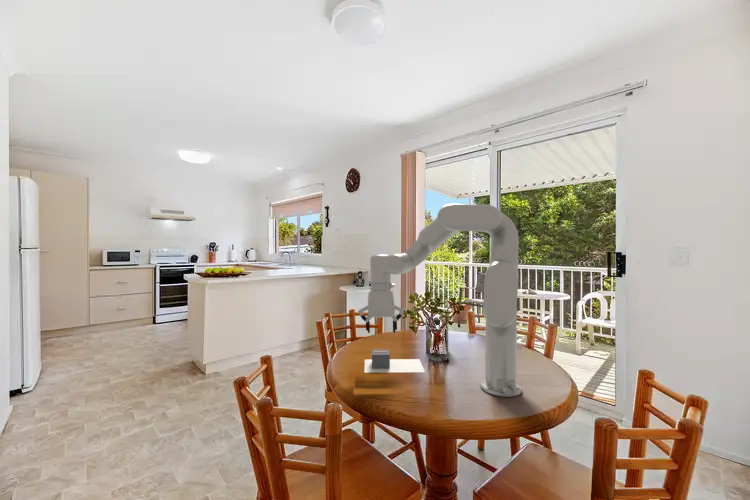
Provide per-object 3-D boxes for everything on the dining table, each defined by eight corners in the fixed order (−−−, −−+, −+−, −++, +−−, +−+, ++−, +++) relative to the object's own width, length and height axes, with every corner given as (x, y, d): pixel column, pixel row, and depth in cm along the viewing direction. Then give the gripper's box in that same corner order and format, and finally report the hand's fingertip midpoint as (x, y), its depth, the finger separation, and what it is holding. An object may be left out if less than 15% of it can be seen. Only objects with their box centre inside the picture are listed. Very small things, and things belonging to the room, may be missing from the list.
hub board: (425, 376, 121) (425, 363, 121) (364, 376, 120) (364, 364, 120) (419, 362, 135) (419, 351, 135) (364, 363, 134) (364, 351, 134)
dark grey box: (388, 362, 131) (388, 348, 131) (389, 368, 124) (389, 354, 124) (371, 362, 131) (371, 348, 131) (371, 368, 124) (372, 354, 124)
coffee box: (449, 354, 145) (449, 317, 145) (446, 359, 139) (447, 320, 139) (428, 352, 149) (428, 316, 148) (425, 356, 142) (425, 319, 142)
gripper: (402, 285, 131) (403, 329, 131) (358, 286, 131) (359, 330, 131) (404, 287, 124) (405, 334, 124) (357, 288, 123) (358, 335, 123)
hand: (381, 332), depth 127 cm, fingers open, 9 cm apart
